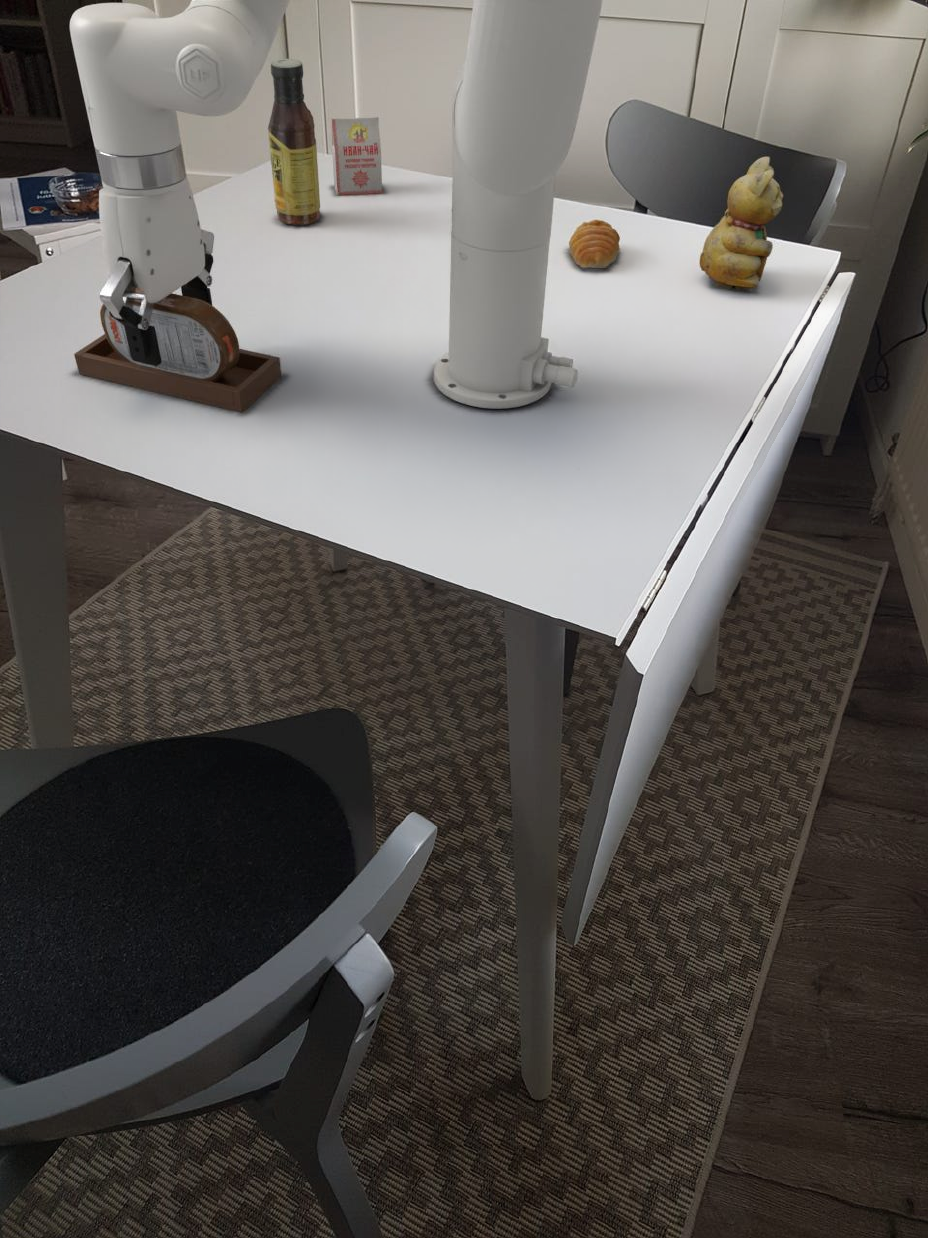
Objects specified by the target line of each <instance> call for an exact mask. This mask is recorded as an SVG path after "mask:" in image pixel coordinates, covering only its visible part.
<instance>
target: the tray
mask: <svg viewBox="0 0 928 1238" xmlns="http://www.w3.org/2000/svg"><path fill="white" fill-rule="evenodd" d="M73 356H74V359H75V363H76V367H77V371H78V374H79V375H82V376H85V377H89V378H90V377H91V378H93V379H94V378H95V379H97V380H98V379H99V380H103V381H105V382H106V381H107V382H111V383H115V384H119V385H123V386H128V387H132V388H137V389H140V390H144V391H148V392H152V393H153V392H154V393H156V394H157V393H159V394H162V395H166V396H171V397H174V398H178V399H183V400H188V401H191V402H195V403H199V404H204V405H208V406H212V407H217V408H221V409H224V410H229V411H232V412H233V411H234V412H237V413H244V412H245V411H246V410H247V409H248V408H249V407H250V406H251V405H253V404H254V403H255V402H256V401H257V400H258V399H259V398H261V396H263V395H264V394H265V393H266V392H267V391H269V389H271V388H272V387H273V386H274V385H275V384H277V383H278V381H279V380H281V379H282V377H283V376H282V366H281V365H282V364H281V358H280V357H279V356H275V355H270V354H265V353H260V352H257V351H253V350H247V349H244V348H239V358H238V361H237V363H236V365H235V366H234V368H233V369H231V370H230V371H228V372H227V373H226V374H225V375H224V376H222V377H221V378H220V379H218V380H217V381H214V382H211V381H206V380H202V379H198V378H193V377H189V376H185V375H180V374H176V373H172V372H167V371H163V370H159V369H154V368H150V367H146V366H141V365H137V364H133V363H129V362H127V361H126V360H125V359H123V358H122V357H121V356H120V355H119V354H118V353H117V352H116V351H115V350H114V349H113V348H112V346H111V345H110V343H109V342H108V340H107V337H106V335H105V333H104V334H102V335H101V336H99V337H97V338H96V339H95V340H93V341H91V342H90V343H88V344H87V345H85V346H84V347H83V348H81V349H79V350H78V351H76V352H75V353H74V355H73Z"/></svg>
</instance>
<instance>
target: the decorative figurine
mask: <svg viewBox="0 0 928 1238" xmlns="http://www.w3.org/2000/svg"><path fill="white" fill-rule="evenodd" d="M770 161H771V157H770V156H763V157H760V158H758V159H757V160H755V161H754V162H753V163H752V164H751V165H749V168H748V169H747V172H746V174H745V175H743V176H741V177H739V178H738V179H736V180H735V181H734V182H733V184H732V185H731V187H730V188H729V191H728V195H727V201H726V202H727V209H726V210H725V212H724V216H722V217H721V219H720V221H719V222H718V223H717V224H715V226H713V228H712V229H711V231H710V232H709V234H708V235H707V237H706V239H705V241H704V244H703V247H702V252H701V253H700V255H699V267H700V269H701V271H702V272H704V273H705V275H706V276H707V277H708V278H709V279H710V280H714V285H713V286H714V288H718V289H725V290H734V291H736V292H744V293H752V292H753V289H754V288H756V287H757V285H758V284H759V282H761V280H762V277H763V274H764V270H765V266H766V264H767V260H768V258H769V257H770V256H771V254H772V251H773V248H774V247H773V246H774V245H773V241H770V240H768V236H767V230H766V226H765V224H767V223H769V222H771V221H772V220H773V219H774V218H775V217H777V215H779V214H780V213H781V211H782V208H783V199H784V194H783V192H782V191H781V186H780V184H779V183H778V182H777V181H776V179H775V177H774V176H775V171H774V167H772V166H771V165H770Z"/></svg>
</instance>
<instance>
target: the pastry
mask: <svg viewBox="0 0 928 1238" xmlns="http://www.w3.org/2000/svg"><path fill="white" fill-rule="evenodd" d="M620 240H621V237H620V234H619V233H618V231H617V230H616V229H615V228H613V227H612V224H610V223H608V222H607V221H604V220H600V219H592V220H590V221H587V222H586V221H584V222H582V223H581V224H580V225H579V226H577V227H576V229H575V231H574V232H573V233H572V235H571V237H570V239H569V241H568V246H569V252H570V254H571V255H570V256H571V258H572V259H573V261H574V262H575V265H578V266H579V267H581V268H582V269H583V268H585V269H586V268H596V269H597V268H598V269H599V268H600V269H606V268H608V267H609V265H611V264H613V263H614V262H615V261H616V259H617V255H619V252H620V250H621V249H620Z"/></svg>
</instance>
